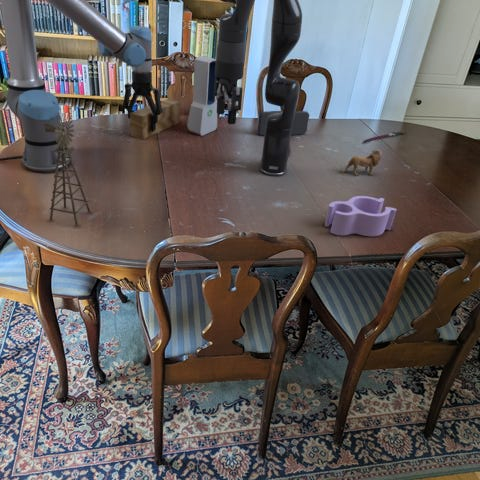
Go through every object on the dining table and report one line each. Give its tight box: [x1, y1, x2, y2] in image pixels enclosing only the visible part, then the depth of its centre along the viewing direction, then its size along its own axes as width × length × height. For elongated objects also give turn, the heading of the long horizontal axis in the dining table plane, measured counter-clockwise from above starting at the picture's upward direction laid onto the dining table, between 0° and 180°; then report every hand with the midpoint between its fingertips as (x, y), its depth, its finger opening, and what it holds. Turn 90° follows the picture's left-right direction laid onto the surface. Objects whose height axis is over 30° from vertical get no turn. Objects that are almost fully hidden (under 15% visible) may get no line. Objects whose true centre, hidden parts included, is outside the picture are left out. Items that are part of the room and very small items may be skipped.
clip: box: [324, 195, 398, 237], centre depth 141 cm, size 20×12×7 cm, turn 109°
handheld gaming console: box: [257, 110, 310, 136], centre depth 203 cm, size 23×3×10 cm, turn 108°
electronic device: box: [186, 55, 218, 137], centre depth 192 cm, size 12×8×30 cm, turn 148°
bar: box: [129, 98, 181, 140], centre depth 195 cm, size 26×6×9 cm, turn 153°
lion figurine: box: [343, 149, 383, 176], centre depth 175 cm, size 15×5×9 cm, turn 110°
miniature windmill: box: [44, 112, 92, 227], centre depth 124 cm, size 9×8×30 cm
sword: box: [363, 131, 407, 144], centre depth 214 cm, size 31×3×1 cm, turn 126°
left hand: (143, 128), depth 189 cm, fingers open, 8 cm apart
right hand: (225, 118), depth 131 cm, fingers open, 8 cm apart
